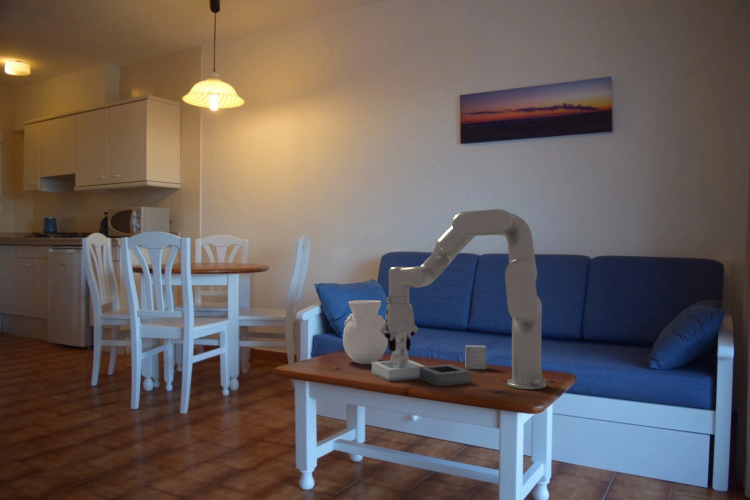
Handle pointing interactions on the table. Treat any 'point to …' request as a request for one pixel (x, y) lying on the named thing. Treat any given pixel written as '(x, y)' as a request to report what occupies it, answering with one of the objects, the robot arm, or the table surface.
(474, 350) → the grey upright block
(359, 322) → the white vase
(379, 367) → the tray
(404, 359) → the plastic bottle
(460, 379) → the dark grey storage bin
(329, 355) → the table surface
